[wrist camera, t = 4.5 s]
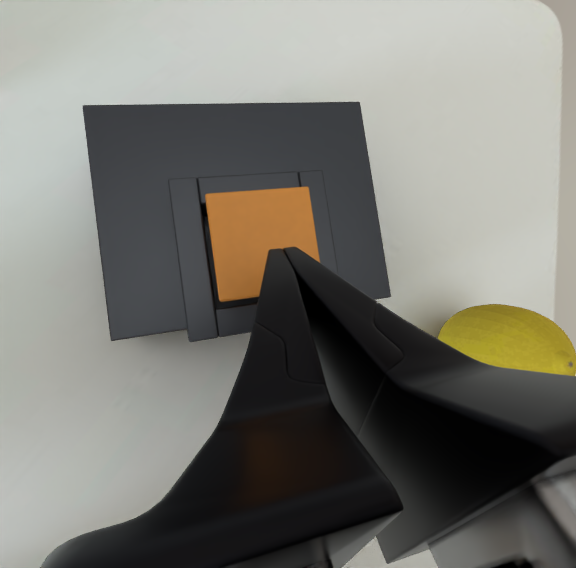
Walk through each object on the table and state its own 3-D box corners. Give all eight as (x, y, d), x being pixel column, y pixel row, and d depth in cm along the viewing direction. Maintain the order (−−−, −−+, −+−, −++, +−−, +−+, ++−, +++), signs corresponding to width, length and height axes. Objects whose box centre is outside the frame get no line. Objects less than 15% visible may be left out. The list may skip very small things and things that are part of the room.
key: (308, 289, 14) (324, 286, 12) (220, 302, 14) (219, 301, 11) (295, 204, 15) (309, 185, 12) (207, 212, 14) (204, 192, 11)
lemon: (462, 292, 22) (589, 284, 15) (492, 362, 22) (635, 392, 15) (399, 324, 21) (501, 335, 13) (431, 399, 21) (551, 452, 14)
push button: (361, 305, 21) (414, 304, 15) (136, 341, 18) (93, 358, 12) (335, 139, 21) (377, 75, 15) (112, 147, 18) (59, 73, 12)
